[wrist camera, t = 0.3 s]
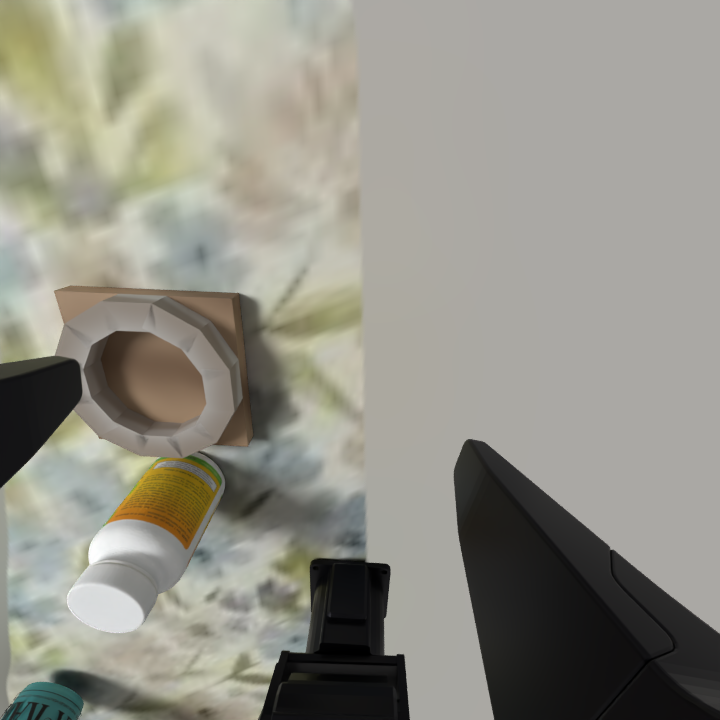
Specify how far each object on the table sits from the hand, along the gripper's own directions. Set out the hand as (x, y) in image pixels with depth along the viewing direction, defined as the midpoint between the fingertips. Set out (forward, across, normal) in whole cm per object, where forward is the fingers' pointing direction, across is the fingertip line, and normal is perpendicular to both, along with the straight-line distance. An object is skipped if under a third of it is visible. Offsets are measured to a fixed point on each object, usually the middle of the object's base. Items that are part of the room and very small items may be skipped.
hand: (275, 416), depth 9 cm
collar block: (+14, +10, +8) cm, 19 cm away
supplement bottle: (+14, +8, +16) cm, 23 cm away
